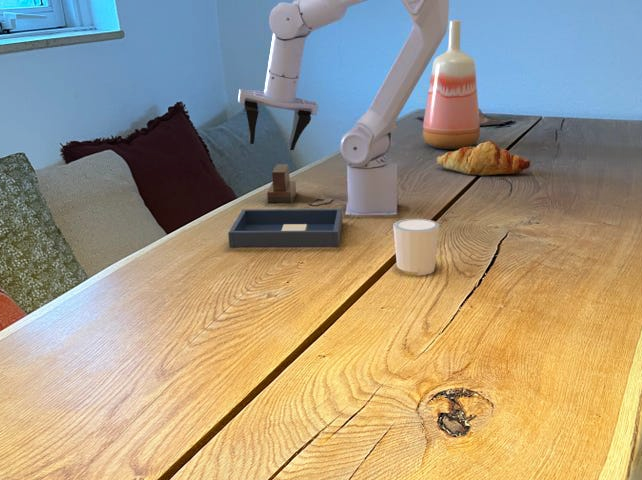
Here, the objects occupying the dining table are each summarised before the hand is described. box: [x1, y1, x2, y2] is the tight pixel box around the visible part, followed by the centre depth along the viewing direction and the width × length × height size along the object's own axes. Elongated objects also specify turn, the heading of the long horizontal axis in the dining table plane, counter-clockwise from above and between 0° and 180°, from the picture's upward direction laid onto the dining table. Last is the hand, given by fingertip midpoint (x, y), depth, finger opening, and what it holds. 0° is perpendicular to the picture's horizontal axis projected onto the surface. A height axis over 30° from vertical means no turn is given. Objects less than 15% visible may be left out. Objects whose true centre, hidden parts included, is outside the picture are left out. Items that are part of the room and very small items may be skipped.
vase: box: [422, 19, 481, 150], centre depth 196 cm, size 14×14×30 cm
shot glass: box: [392, 218, 440, 277], centre depth 119 cm, size 7×7×7 cm
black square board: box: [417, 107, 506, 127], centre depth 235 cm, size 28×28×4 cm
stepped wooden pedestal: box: [266, 163, 297, 205], centre depth 156 cm, size 4×9×6 cm, turn 0°
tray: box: [227, 208, 344, 249], centre depth 134 cm, size 18×14×3 cm
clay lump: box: [281, 224, 307, 231], centre depth 134 cm, size 4×4×1 cm
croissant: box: [436, 140, 531, 176], centre depth 176 cm, size 21×10×8 cm, turn 72°
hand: (271, 145), depth 151 cm, fingers open, 7 cm apart
